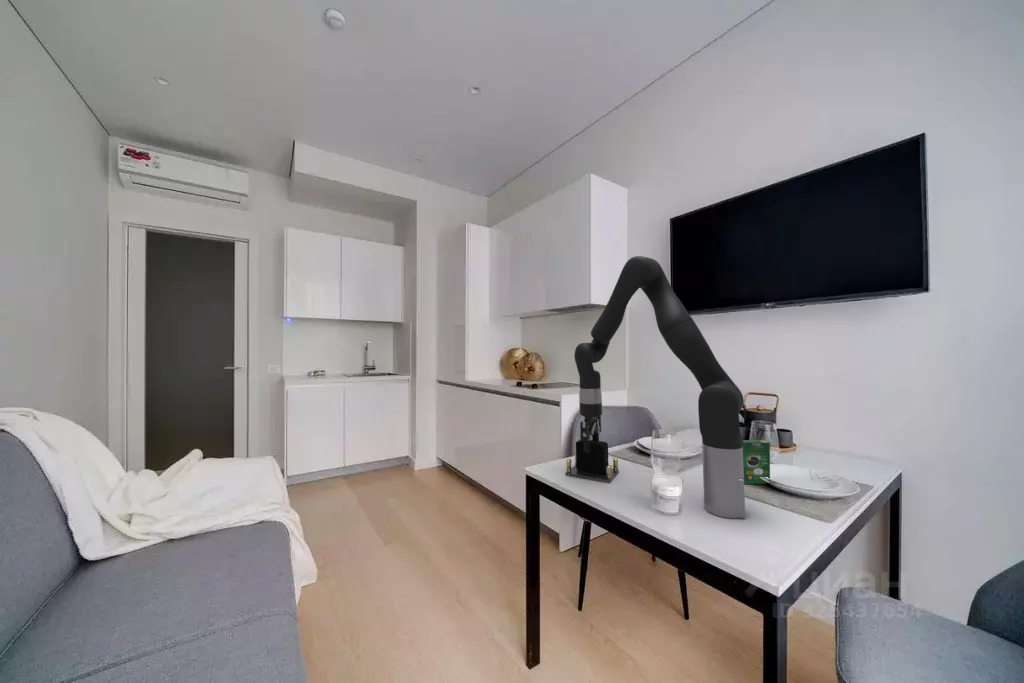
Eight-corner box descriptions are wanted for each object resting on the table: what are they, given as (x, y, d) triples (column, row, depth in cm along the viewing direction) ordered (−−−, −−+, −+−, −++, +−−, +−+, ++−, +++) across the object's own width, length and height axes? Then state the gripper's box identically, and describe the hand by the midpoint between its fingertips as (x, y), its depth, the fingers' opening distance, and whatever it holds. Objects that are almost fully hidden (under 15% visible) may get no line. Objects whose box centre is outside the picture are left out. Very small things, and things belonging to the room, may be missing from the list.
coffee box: (765, 481, 115) (764, 439, 115) (771, 484, 112) (770, 441, 112) (739, 481, 115) (738, 439, 115) (744, 484, 112) (743, 441, 112)
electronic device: (604, 475, 120) (603, 445, 120) (576, 470, 126) (575, 441, 126) (608, 471, 123) (608, 442, 123) (581, 466, 129) (580, 438, 129)
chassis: (619, 472, 125) (619, 458, 125) (610, 483, 116) (609, 467, 116) (576, 465, 133) (576, 452, 133) (565, 475, 124) (564, 460, 124)
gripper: (594, 405, 117) (595, 456, 116) (607, 398, 129) (608, 445, 129) (572, 403, 120) (573, 452, 120) (587, 397, 133) (588, 442, 132)
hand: (591, 448), depth 124 cm, fingers open, 8 cm apart
